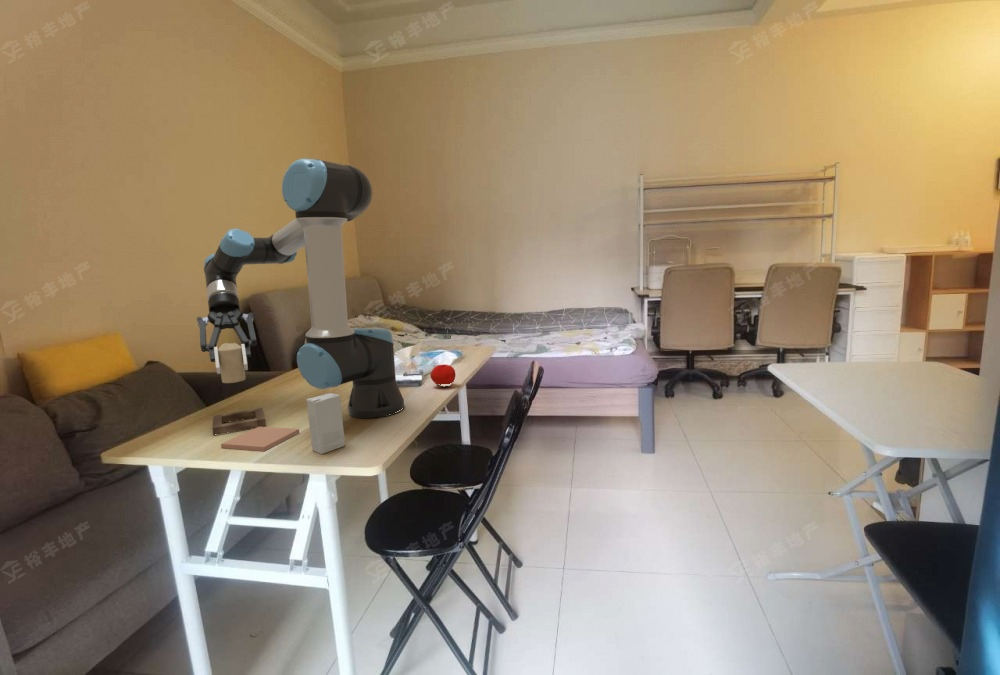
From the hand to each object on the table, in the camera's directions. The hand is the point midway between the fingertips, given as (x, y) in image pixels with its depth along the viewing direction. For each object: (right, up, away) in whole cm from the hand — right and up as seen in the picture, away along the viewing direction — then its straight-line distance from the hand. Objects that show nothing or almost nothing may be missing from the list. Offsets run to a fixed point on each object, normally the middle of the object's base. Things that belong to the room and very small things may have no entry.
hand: (232, 368), depth 127 cm
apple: (+50, -8, +35) cm, 62 cm away
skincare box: (+29, -17, -15) cm, 37 cm away
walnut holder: (-1, -15, +6) cm, 16 cm away
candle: (-2, -4, +4) cm, 6 cm away
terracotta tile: (+11, -17, -7) cm, 21 cm away
